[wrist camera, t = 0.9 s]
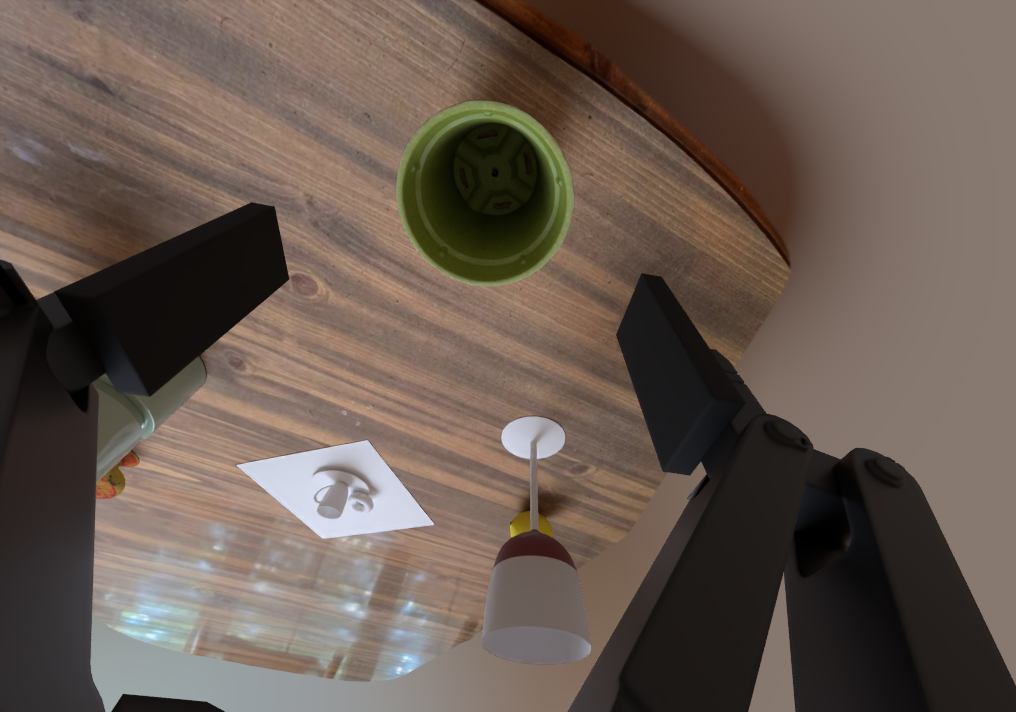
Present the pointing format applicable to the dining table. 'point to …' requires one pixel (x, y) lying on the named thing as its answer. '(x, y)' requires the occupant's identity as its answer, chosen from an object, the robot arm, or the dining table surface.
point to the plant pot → (484, 193)
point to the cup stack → (138, 413)
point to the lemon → (529, 524)
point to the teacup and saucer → (339, 490)
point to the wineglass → (535, 574)
